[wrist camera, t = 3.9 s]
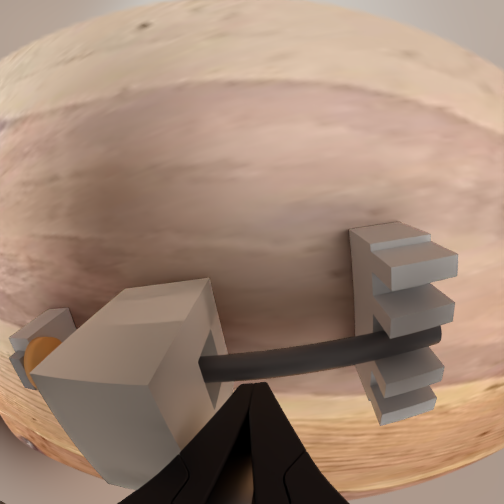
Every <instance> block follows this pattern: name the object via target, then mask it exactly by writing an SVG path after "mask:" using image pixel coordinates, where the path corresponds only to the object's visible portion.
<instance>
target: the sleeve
mask: <svg viewBox="0 0 504 504" xmlns="http://www.w3.org/2000/svg"><path fill="white" fill-rule="evenodd" d="M226 354H228V352H227V348H226V344H225V340H224V336H223V332H222V328H221V324H220V320H219V315H218V311H217V307H216V303H215V299H214V294H213V290H212V286H211V281H210V278H203V279H195V280H188V281H180V282H173V283H165V284H158V285H150V286H142V287H134V288H126V289H124V290H123V291H121V292H120V293H119V294H118V295H117V296H115V297H114V298H113V299H112V300H111V301H110V302H108V303H107V304H106V305H105V306H104V307H102V308H101V309H100V310H99V311H98V312H97V313H95V314H94V315H93V316H92V317H91V318H90V319H88V320H87V321H86V322H85V323H84V324H83V325H82V326H80V327H79V328H78V329H77V330H76V331H75V332H74V333H72V334H71V335H70V336H69V337H68V338H67V339H66V340H65V341H64V342H62V343H61V344H60V345H59V346H58V347H57V348H56V349H55V350H54V351H52V352H51V353H50V354H49V355H48V356H47V357H46V358H45V359H44V360H43V361H42V362H41V363H40V364H38V365H37V366H36V367H35V368H34V369H33V370H32V371H31V372H30V373H29V374H30V376H31V377H32V379H33V381H34V383H35V385H36V386H37V388H38V390H39V392H40V393H41V395H42V397H43V398H44V400H45V402H46V403H47V405H48V406H49V408H50V410H51V411H52V413H53V414H54V416H55V417H56V419H57V420H58V422H59V423H60V425H61V426H62V427H63V429H64V430H65V432H66V433H67V435H68V436H69V437H70V439H71V440H72V441H73V443H74V444H75V445H76V447H77V448H78V449H79V450H80V452H81V453H82V454H83V455H84V457H85V458H86V459H87V460H88V461H89V463H90V464H91V465H92V466H93V467H94V469H95V470H96V471H97V472H98V473H99V474H100V475H101V476H102V478H103V479H104V480H105V481H106V482H107V483H108V484H112V485H116V486H120V487H124V488H128V489H133V490H137V489H139V488H140V487H141V486H143V485H144V484H145V483H147V482H148V481H149V480H151V479H152V478H153V477H154V476H155V475H157V474H158V473H159V472H160V471H161V470H162V469H163V468H164V467H165V466H166V465H168V464H169V463H170V462H171V461H172V460H173V459H174V458H175V457H176V455H178V454H179V453H180V451H181V450H182V449H183V448H184V447H185V446H186V445H187V444H188V443H189V442H190V441H191V440H192V439H193V438H194V437H195V435H196V434H197V433H198V432H199V431H200V430H201V429H202V428H203V427H204V426H205V425H206V423H207V422H208V421H209V420H210V419H211V418H212V417H213V416H214V414H215V413H216V412H217V411H218V410H219V409H220V408H221V406H222V405H223V404H224V403H225V402H226V401H227V400H228V398H229V397H230V396H231V395H232V392H233V387H234V381H233V382H217V383H205V382H204V380H203V377H202V374H201V371H200V368H199V364H198V360H199V358H200V356H213V355H226ZM179 455H180V454H179Z"/></svg>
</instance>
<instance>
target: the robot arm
mask: <svg viewBox="0 0 504 504" xmlns="http://www.w3.org/2000/svg"><path fill="white" fill-rule="evenodd" d="M179 454H180V455H179ZM179 454H178V455H176V457H175V458H174V459H173V460H172V461H171V462H170V463H169V464H168V465H166V466H165V467H164V468H163V469H162V470H161V471H160V472H159V473H158V474H157V475H155V476H154V477H153V478H152V479H151V480H149V481H148V482H147V483H145V484H144V485H143V486H141V487H140V488H139V489H137V490H136V491H135V492H133V493H132V494H130V495H129V496H128V497H126V498H125V499H123V500H122V501H121V502H119V503H118V504H349V503H348V502H347V501H346V500H345V499H344V497H343V496H342V495H341V494H340V493H339V492H338V491H337V490H336V489H335V488H334V487H333V486H332V485H331V484H330V483H329V481H328V480H327V479H326V478H325V477H324V475H323V474H322V473H321V472H320V470H319V469H318V467H317V466H316V465H315V463H314V462H313V460H312V459H311V457H310V455H309V454H308V452H307V451H306V449H305V447H304V446H303V444H302V442H301V441H300V439H299V437H298V436H297V434H296V432H295V431H294V429H293V427H292V426H291V424H290V422H289V421H288V419H287V417H286V415H285V414H284V412H283V410H282V408H281V407H280V405H279V403H278V401H277V400H276V398H275V396H274V394H273V393H272V391H271V389H270V387H269V385H268V384H267V383H266V382H260V383H254V384H253V383H249V384H241V385H239V387H238V388H237V389H236V390H235V391H234V392H233V394H232V395H231V396H230V397H229V398H228V400H227V401H226V402H225V403H224V404H223V405H222V406H221V408H220V409H219V410H218V411H217V412H216V413H215V414H214V416H213V417H212V418H211V419H210V420H209V421H208V422H207V423H206V425H205V426H204V427H203V428H202V429H201V430H200V431H199V432H198V433H197V434H196V435H195V437H194V438H193V439H192V440H191V441H190V442H189V443H188V444H187V445H186V446H185V447H184V448H183V449H182V450H181V451H180V453H179ZM0 504H5V503H4V502H2V501H0Z"/></svg>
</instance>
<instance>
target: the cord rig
mask: <svg viewBox="0 0 504 504" xmlns="http://www.w3.org/2000/svg"><path fill="white" fill-rule="evenodd" d="M349 236H350V246H351V258H352V272H353V289H354V312H355V336H354V337H349V338H344V339H338V340H333V341H327V342H321V343H315V344H309V345H302V346H296V347H289V348H281V349H273V350H265V351H256V352H247V353H237V354H226V355H213V356H200V358H199V360H198V364H199V368H200V371H201V374H202V377H203V380H204V382H205V383H217V382H233V381H246V380H257V379H267V378H276V377H284V376H292V375H299V374H306V373H312V372H319V371H325V370H330V369H336V368H341V367H346V366H352V365H355V367H356V369H357V372H358V374H359V377H360V379H361V382H362V385H363V387H364V390H365V392H366V395H367V398H368V400H369V401H371V403H372V406H373V408H374V411H375V414H376V416H377V419H378V422H379V424H380V426H382V425H386V424H389V423H393V422H396V421H400V420H403V419H406V418H409V417H413V416H416V415H419V414H422V413H425V412H427V411H430V410H433V409H434V406H435V403H436V399H437V397H436V395H435V394H434V392H433V391H432V389H431V388H430V386H429V385H431V384H434V383H437V382H440V381H441V380H442V376H443V371H444V365H443V364H442V363H441V361H440V360H439V359H438V358H437V356H436V355H435V354H434V353H433V351H432V350H431V349H430V348H429V346H431V345H434V344H437V343H439V342H440V340H441V335H442V333H441V326H440V325H443V324H446V323H450V322H453V315H454V307H455V302H454V301H452V300H451V299H450V298H449V297H447V296H446V295H445V294H443V293H442V292H441V291H440V290H438V289H437V288H436V287H434V286H433V285H432V284H430V283H431V282H435V281H439V280H443V279H448V278H452V277H456V276H457V271H458V254H457V253H455V252H453V251H451V250H449V249H446V248H444V247H442V246H440V245H438V244H436V243H434V242H432V241H431V234H429V233H427V232H424V231H422V230H419V229H417V228H414V227H412V226H409V225H407V224H404V223H402V222H394V223H387V224H380V225H373V226H366V227H360V228H353V229H349ZM76 330H77V329H76V327H75V324H74V322H73V319H72V317H71V314H70V311H69V308H56V309H48V310H47V311H45V312H44V313H42V314H41V315H39V316H38V317H37V318H35V319H34V320H32V321H31V322H30V323H28V324H27V325H25V326H24V327H23V328H21V329H20V330H18V331H17V332H16V333H14V334H13V335H12V336H10V337H9V339H10V342H11V344H12V346H13V348H14V350H15V353H14V354H13V355H12V356H10V357H9V359H10V361H11V363H12V365H13V367H14V369H15V371H16V372H17V374H18V376H19V378H20V380H21V382H22V383H23V385H24V387H25V388H28V389H33V390H38V388H37V386H36V385H35V383H34V381H33V379H32V377H31V376H30V374H29V373H30V372H31V371H32V370H33V369H34V368H35V367H36V366H37V365H38V364H40V363H41V362H42V361H43V360H44V359H45V358H46V357H47V356H48V355H49V354H50V353H51V352H52V351H54V350H55V349H56V348H57V347H58V346H59V345H60V344H61V343H62V342H64V341H65V340H66V339H67V338H68V337H69V336H70V335H71V334H72V333H74V332H75V331H76Z"/></svg>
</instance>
